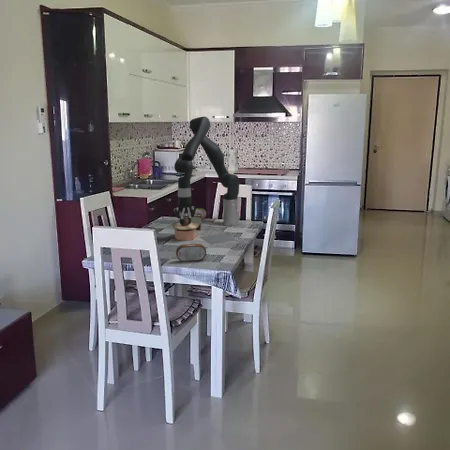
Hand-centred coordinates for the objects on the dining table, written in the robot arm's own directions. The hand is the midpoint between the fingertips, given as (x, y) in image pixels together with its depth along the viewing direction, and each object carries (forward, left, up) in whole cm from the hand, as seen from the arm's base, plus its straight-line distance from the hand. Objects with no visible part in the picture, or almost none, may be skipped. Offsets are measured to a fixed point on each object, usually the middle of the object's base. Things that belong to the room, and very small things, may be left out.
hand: (185, 224), depth 269 cm
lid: (0, 0, -1) cm, 1 cm away
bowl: (0, 0, -9) cm, 9 cm away
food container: (-13, -18, -9) cm, 24 cm away
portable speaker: (+13, +40, -9) cm, 43 cm away
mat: (-16, +11, -8) cm, 21 cm away
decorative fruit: (-25, -36, -9) cm, 45 cm away
